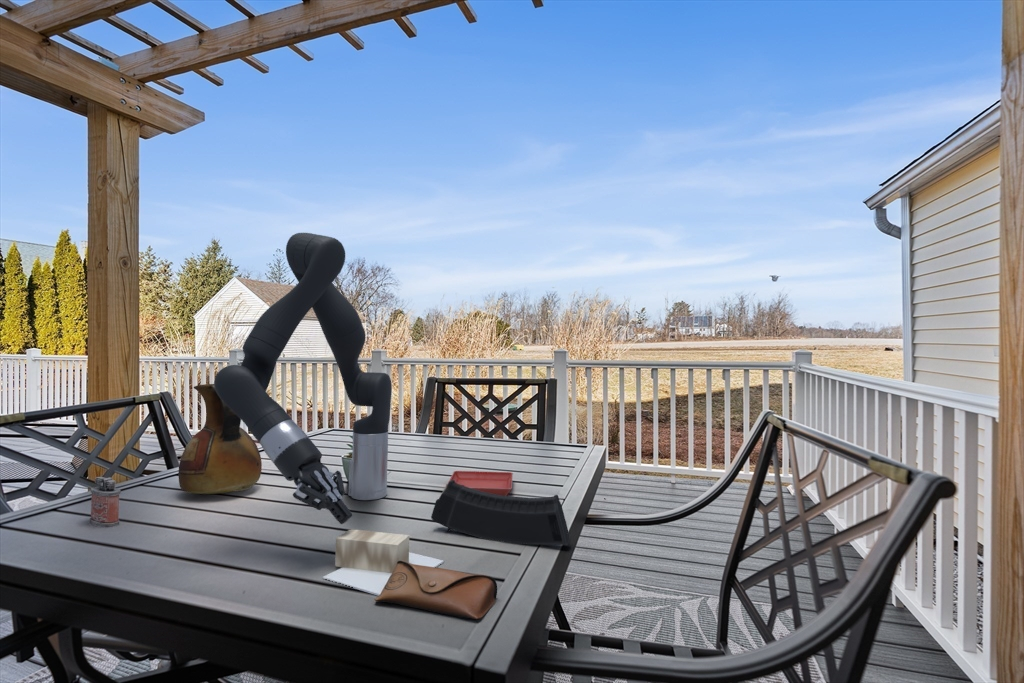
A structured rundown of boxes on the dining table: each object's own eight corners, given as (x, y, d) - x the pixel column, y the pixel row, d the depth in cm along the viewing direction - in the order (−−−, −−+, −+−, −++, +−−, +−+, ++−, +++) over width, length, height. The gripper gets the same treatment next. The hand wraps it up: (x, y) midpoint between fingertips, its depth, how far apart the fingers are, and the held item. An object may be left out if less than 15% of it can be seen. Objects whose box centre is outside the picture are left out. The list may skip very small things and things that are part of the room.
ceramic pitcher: (239, 479, 153) (242, 379, 153) (275, 491, 141) (278, 382, 142) (164, 493, 137) (168, 381, 137) (198, 508, 125) (202, 385, 126)
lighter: (123, 524, 113) (125, 478, 113) (106, 528, 110) (107, 481, 110) (102, 518, 116) (104, 474, 117) (85, 522, 113) (86, 477, 113)
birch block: (335, 538, 93) (397, 545, 90) (350, 529, 97) (409, 535, 95) (335, 566, 92) (396, 573, 90) (349, 555, 97) (408, 562, 95)
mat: (322, 578, 88) (322, 577, 88) (385, 548, 102) (385, 546, 102) (386, 598, 82) (386, 596, 82) (444, 562, 96) (444, 560, 96)
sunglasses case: (370, 600, 79) (383, 554, 82) (388, 605, 85) (399, 562, 88) (481, 620, 74) (490, 571, 78) (492, 624, 80) (500, 578, 83)
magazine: (583, 503, 104) (456, 449, 114) (579, 508, 101) (449, 451, 111) (558, 580, 106) (434, 520, 115) (553, 587, 103) (427, 525, 112)
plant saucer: (511, 500, 139) (512, 487, 139) (445, 498, 139) (445, 486, 139) (512, 483, 157) (512, 472, 157) (453, 481, 157) (454, 470, 157)
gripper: (280, 442, 91) (341, 518, 88) (323, 431, 104) (377, 497, 101) (253, 470, 92) (313, 546, 89) (299, 456, 105) (352, 521, 102)
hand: (347, 519), depth 95 cm, fingers closed
